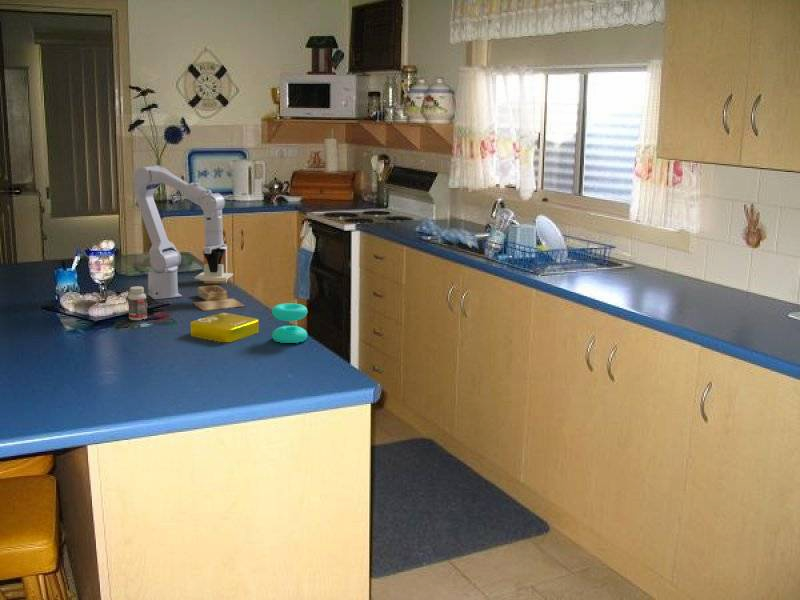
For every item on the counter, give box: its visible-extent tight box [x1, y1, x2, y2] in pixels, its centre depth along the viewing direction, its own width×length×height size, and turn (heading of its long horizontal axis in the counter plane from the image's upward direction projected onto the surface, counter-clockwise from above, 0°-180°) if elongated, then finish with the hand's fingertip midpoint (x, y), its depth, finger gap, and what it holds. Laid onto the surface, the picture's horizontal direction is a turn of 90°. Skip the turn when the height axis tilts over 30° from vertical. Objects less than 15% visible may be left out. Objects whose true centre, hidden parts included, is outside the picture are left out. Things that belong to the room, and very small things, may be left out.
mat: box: [192, 297, 246, 312], centre depth 277 cm, size 14×11×1 cm
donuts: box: [271, 302, 308, 344], centre depth 240 cm, size 10×10×10 cm
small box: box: [203, 246, 228, 285], centre depth 309 cm, size 8×6×13 cm
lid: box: [194, 264, 234, 282], centre depth 279 cm, size 8×11×5 cm
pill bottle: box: [127, 285, 148, 321], centre depth 258 cm, size 5×5×10 cm
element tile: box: [190, 311, 260, 343], centre depth 245 cm, size 15×15×5 cm
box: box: [197, 284, 229, 301], centre depth 287 cm, size 7×10×3 cm
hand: (214, 271), depth 279 cm, fingers closed on lid
